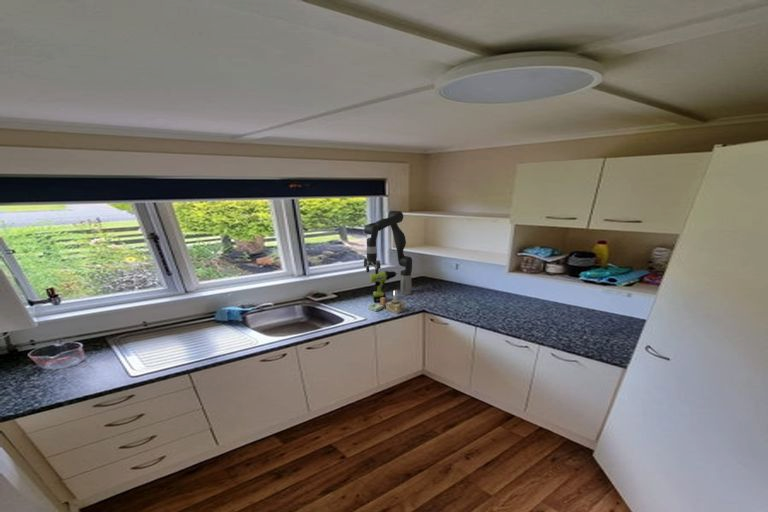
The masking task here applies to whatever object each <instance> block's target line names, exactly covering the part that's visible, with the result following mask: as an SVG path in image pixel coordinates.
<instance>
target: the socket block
mask: <svg viewBox="0 0 768 512" xmlns="http://www.w3.org/2000/svg"><path fill="white" fill-rule="evenodd" d="M405 306H406V305H405V302H404V301H401V300H398V304H393V299H392V300H390V301H388V302H387V303H386V306H385V307H386V309H385V311H386V312H389V313H392V314H396V315H398V314H400V313H401V312H403V311H405V309H406V308H405Z"/></svg>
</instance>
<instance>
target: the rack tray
mask: <svg viewBox="0 0 768 512" xmlns="http://www.w3.org/2000/svg"><path fill="white" fill-rule="evenodd" d="M383 308H384V307H383V305H380V303H372V304H370V305H368V306H367V310H369V311H373V312H379V311H381V310H383Z"/></svg>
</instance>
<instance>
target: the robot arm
mask: <svg viewBox="0 0 768 512" xmlns="http://www.w3.org/2000/svg"><path fill="white" fill-rule="evenodd" d="M403 219H404V213H403V212H402V211H399V210H390V211H389V212H388V215H387V217H386V218H382V219H379V220H377V221H375V222H371V223H368V224H366V225H365V226H364V228H363V231H364V234H366V235H370V237H368V238H366V258H364V259H363V267H365V269H366V270H365V271H366V273H370V266H372V267H373V268H374V270H375V273H374V274H378V273H379V269H381V260H377V259H378V250H377V239H378V235H379V232H380V231H381V230H384V229H386V228H387V227H390V228H391V231H392V235H393V241H394V243H395V247H396V248H395V249H396V253H397V262H398V266H400V267H403V268H405V269H402V270H400V294H401V295H404V296H408V295H410V294H412V292H413V291H412V289H413V288H412V287H413V286H412V285H413V283H412V271H413V259H412V257H411V256H407V255H405V254H404V249H405V247H406V245H407V239H406V236H405V234H404V232H403V231H402V229H401V228H400V226H399V223H402V221H403Z"/></svg>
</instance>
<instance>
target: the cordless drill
mask: <svg viewBox="0 0 768 512" xmlns="http://www.w3.org/2000/svg"><path fill="white" fill-rule="evenodd" d="M398 274H399V273H398V272H395V271H391V270H390V271H388V270H386V271H380V272H379V271H378V274H375V273H371V274H370V275H369V280H370V282H371V283H374V291H373V293H372V296H373V297H372V298H373V300H372V301H373V302H374V303H376V304H380V298H382V297H385V298H386V302H387V301H388V300H387V295H386V293H385V292H384V291H382V287H383V285H385V283H386V282H387V281H388V280H390V279H392V278H395V277H397V275H398ZM374 303H373V304H374ZM387 303H388V302H387Z"/></svg>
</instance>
